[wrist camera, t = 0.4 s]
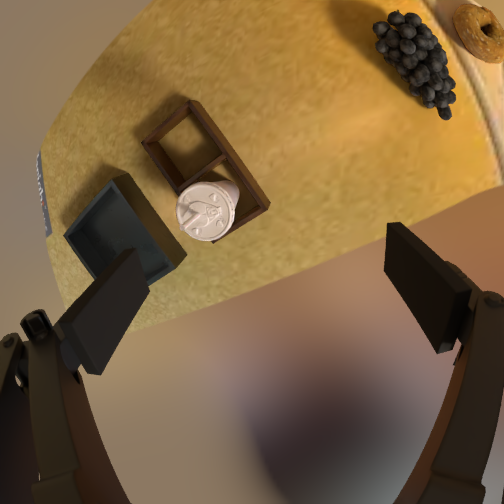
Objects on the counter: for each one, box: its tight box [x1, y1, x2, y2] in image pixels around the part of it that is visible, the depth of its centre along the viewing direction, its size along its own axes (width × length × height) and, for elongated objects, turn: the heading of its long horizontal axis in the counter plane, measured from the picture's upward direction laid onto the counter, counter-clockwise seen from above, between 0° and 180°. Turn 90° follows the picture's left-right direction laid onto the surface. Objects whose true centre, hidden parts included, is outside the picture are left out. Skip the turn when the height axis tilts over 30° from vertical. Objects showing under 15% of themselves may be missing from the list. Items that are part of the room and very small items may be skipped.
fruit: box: [372, 10, 456, 120], centre depth 24 cm, size 9×8×15 cm
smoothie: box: [176, 180, 240, 241], centre depth 32 cm, size 6×6×14 cm
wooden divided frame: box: [141, 100, 271, 244], centre depth 36 cm, size 9×17×4 cm, turn 35°
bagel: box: [453, 4, 504, 63], centre depth 19 cm, size 10×11×5 cm
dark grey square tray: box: [63, 173, 187, 286], centre depth 42 cm, size 16×16×5 cm
